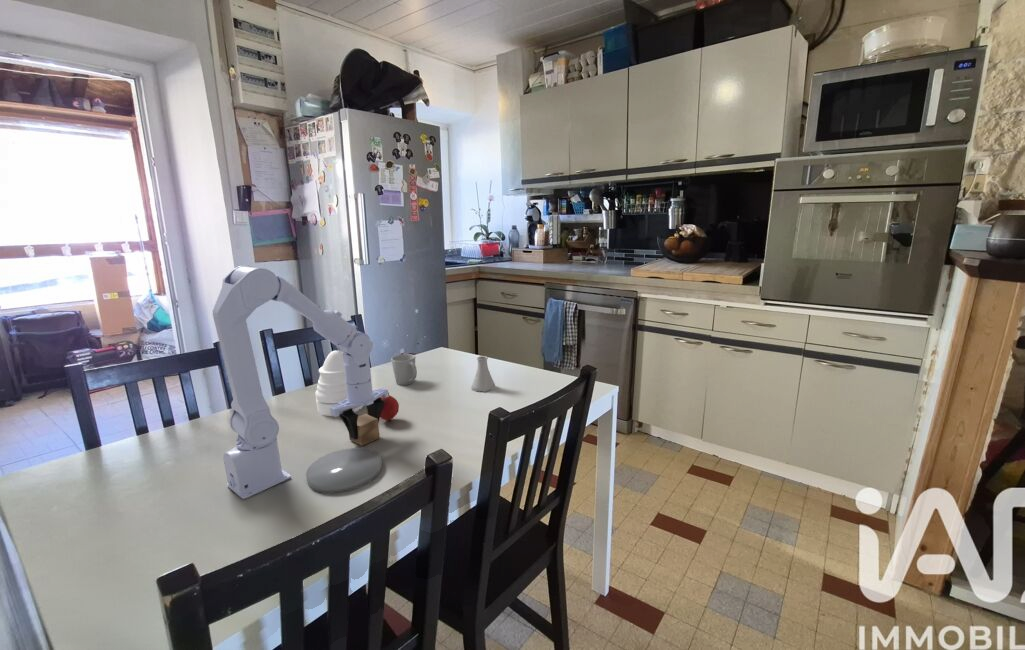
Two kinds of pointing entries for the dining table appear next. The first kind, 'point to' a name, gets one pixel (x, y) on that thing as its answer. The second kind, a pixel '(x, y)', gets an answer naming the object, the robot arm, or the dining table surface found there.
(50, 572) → the dining table surface
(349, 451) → the plate
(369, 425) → the cube
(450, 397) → the dining table surface
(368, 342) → the robot arm
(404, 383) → the cup
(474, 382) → the flask
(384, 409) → the onion
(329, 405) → the honey pot
